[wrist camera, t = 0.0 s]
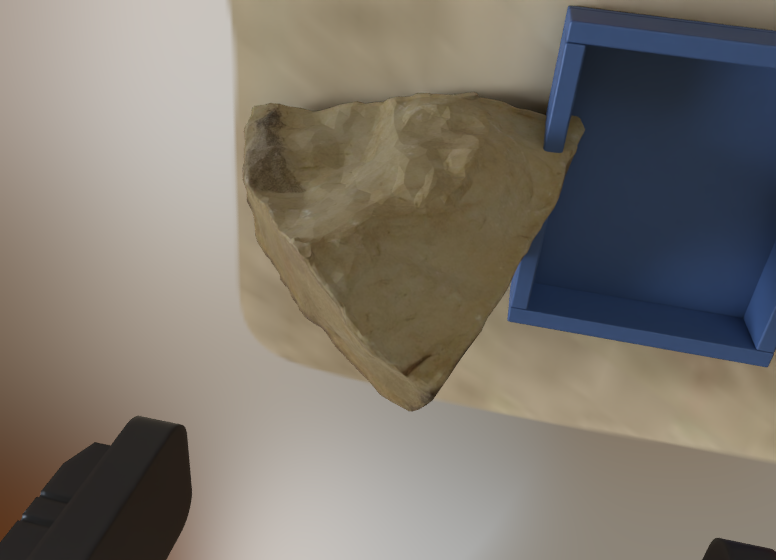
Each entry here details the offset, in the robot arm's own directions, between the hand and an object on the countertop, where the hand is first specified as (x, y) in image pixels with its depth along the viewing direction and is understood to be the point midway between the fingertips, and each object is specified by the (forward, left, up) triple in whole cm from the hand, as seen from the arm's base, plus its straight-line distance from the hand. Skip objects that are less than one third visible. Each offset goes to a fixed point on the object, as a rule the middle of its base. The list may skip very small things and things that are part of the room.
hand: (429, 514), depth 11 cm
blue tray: (0, +6, -16) cm, 17 cm away
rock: (0, -3, -16) cm, 16 cm away
